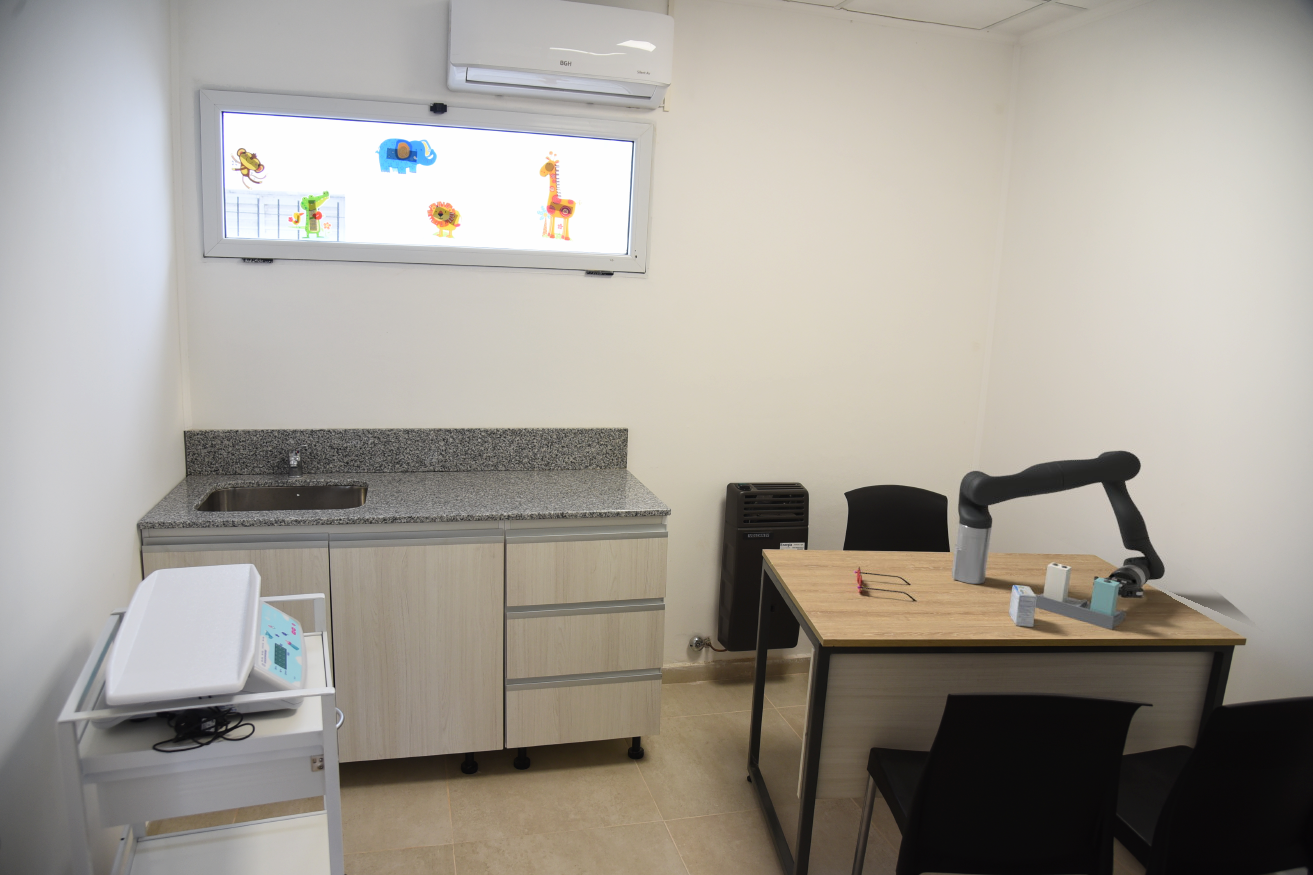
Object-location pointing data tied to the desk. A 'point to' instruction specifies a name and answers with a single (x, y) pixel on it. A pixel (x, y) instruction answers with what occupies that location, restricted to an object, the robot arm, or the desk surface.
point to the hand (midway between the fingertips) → (1107, 593)
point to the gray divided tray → (1079, 611)
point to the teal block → (1104, 596)
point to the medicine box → (1022, 606)
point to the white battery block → (1057, 582)
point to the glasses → (874, 588)
